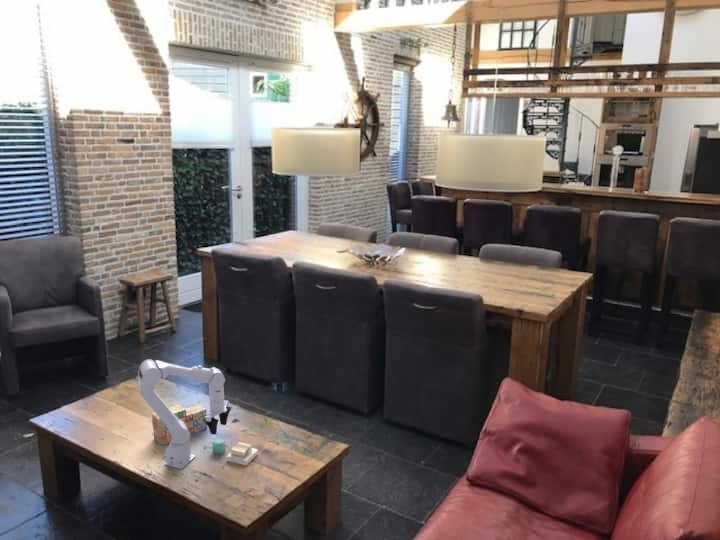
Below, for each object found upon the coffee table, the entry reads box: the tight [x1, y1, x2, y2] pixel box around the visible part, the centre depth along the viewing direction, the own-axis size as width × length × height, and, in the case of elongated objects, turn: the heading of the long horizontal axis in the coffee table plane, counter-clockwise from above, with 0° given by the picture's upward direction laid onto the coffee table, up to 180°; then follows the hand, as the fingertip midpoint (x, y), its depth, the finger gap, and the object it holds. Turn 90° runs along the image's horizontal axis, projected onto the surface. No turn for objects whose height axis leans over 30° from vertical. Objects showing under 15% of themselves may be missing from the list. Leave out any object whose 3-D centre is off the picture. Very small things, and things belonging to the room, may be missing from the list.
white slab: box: [226, 447, 259, 466], centre depth 238 cm, size 9×9×2 cm
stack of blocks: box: [151, 404, 208, 446], centre depth 253 cm, size 21×6×12 cm, turn 130°
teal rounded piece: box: [211, 438, 226, 456], centre depth 242 cm, size 5×5×4 cm
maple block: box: [230, 441, 253, 458], centre depth 237 cm, size 6×6×2 cm
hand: (218, 429), depth 240 cm, fingers open, 7 cm apart
